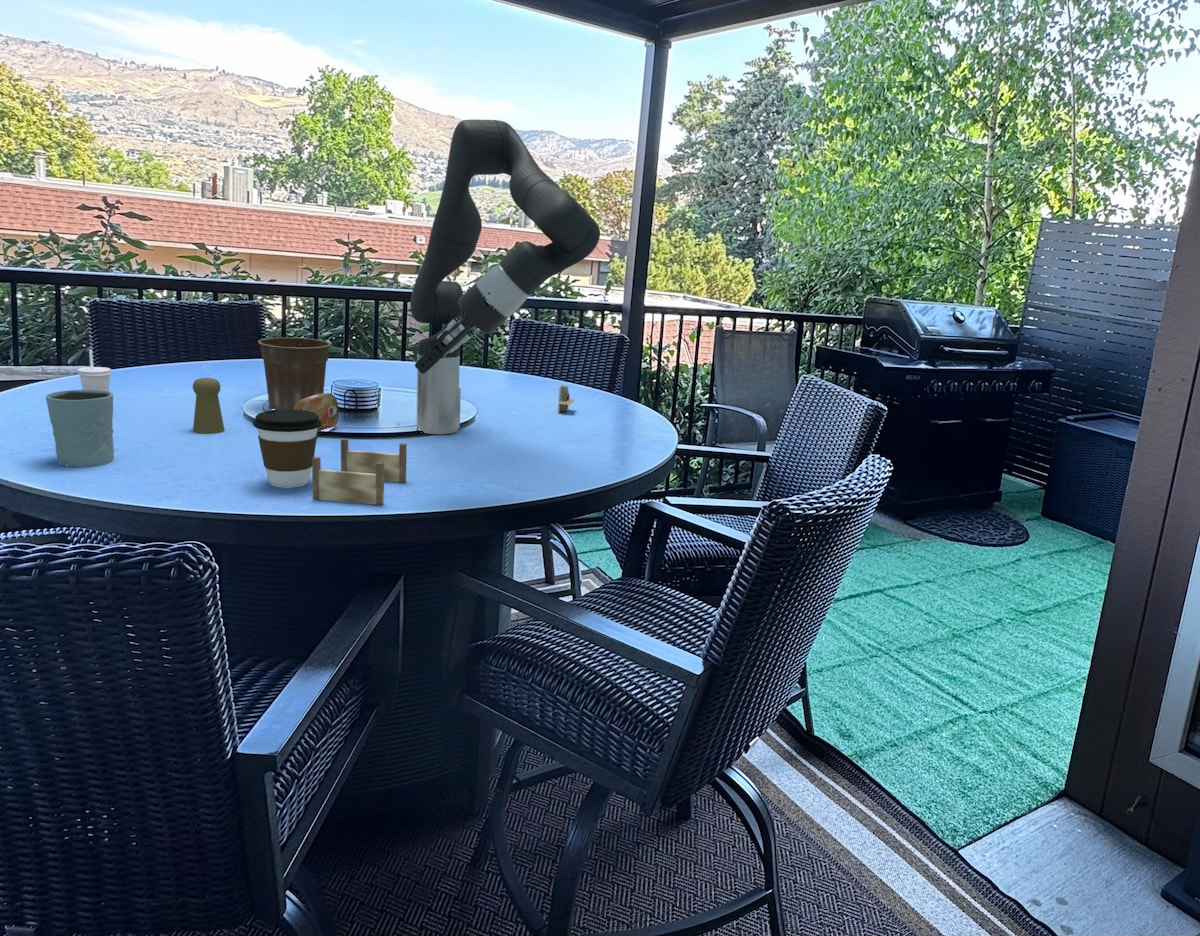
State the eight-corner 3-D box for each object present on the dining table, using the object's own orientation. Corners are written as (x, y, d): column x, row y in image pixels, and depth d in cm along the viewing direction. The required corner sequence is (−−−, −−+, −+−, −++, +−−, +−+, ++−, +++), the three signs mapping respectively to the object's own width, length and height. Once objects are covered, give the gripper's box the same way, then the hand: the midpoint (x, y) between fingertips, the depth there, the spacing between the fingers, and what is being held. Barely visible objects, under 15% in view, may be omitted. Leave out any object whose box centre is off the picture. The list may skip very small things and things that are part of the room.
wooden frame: (406, 481, 152) (406, 443, 150) (382, 505, 138) (382, 464, 136) (343, 476, 152) (342, 438, 150) (312, 499, 138) (312, 458, 136)
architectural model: (573, 412, 225) (575, 384, 223) (570, 417, 218) (571, 389, 216) (561, 411, 225) (562, 383, 223) (557, 416, 218) (558, 387, 217)
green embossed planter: (70, 471, 144) (64, 402, 140) (40, 460, 149) (33, 392, 146) (130, 460, 152) (125, 395, 149) (99, 450, 157) (93, 386, 154)
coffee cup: (240, 485, 143) (237, 415, 140) (287, 471, 153) (285, 406, 150) (290, 496, 139) (289, 425, 136) (335, 481, 149) (335, 414, 146)
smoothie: (74, 413, 183) (68, 348, 179) (101, 408, 189) (95, 346, 185) (95, 417, 181) (89, 352, 177) (121, 412, 187) (116, 349, 183)
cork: (231, 430, 179) (228, 378, 176) (207, 435, 173) (204, 382, 170) (210, 425, 181) (207, 375, 178) (186, 430, 176) (183, 378, 173)
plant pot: (340, 414, 201) (340, 346, 197) (270, 417, 192) (267, 347, 188) (320, 401, 214) (319, 337, 210) (253, 404, 205) (250, 337, 201)
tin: (304, 442, 173) (303, 402, 171) (290, 440, 174) (289, 400, 172) (340, 428, 187) (339, 390, 185) (327, 426, 188) (326, 389, 186)
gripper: (485, 278, 141) (413, 346, 145) (469, 283, 128) (391, 358, 132) (516, 311, 142) (444, 379, 146) (503, 320, 130) (425, 393, 134)
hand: (419, 369), depth 139 cm, fingers closed
